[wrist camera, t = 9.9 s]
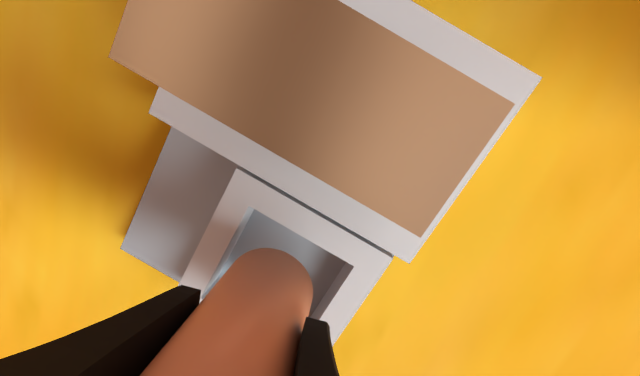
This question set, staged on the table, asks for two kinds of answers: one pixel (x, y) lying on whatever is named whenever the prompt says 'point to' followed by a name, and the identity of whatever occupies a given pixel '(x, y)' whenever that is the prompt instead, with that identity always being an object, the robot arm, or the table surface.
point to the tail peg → (243, 322)
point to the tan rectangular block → (321, 94)
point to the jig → (293, 187)
